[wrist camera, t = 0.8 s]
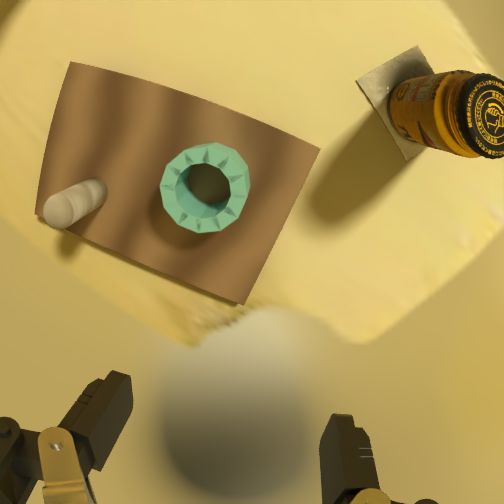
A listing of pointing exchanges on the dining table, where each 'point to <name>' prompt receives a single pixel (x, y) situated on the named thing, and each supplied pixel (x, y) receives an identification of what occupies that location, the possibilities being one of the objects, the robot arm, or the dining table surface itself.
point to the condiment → (438, 107)
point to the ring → (183, 200)
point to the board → (151, 172)
